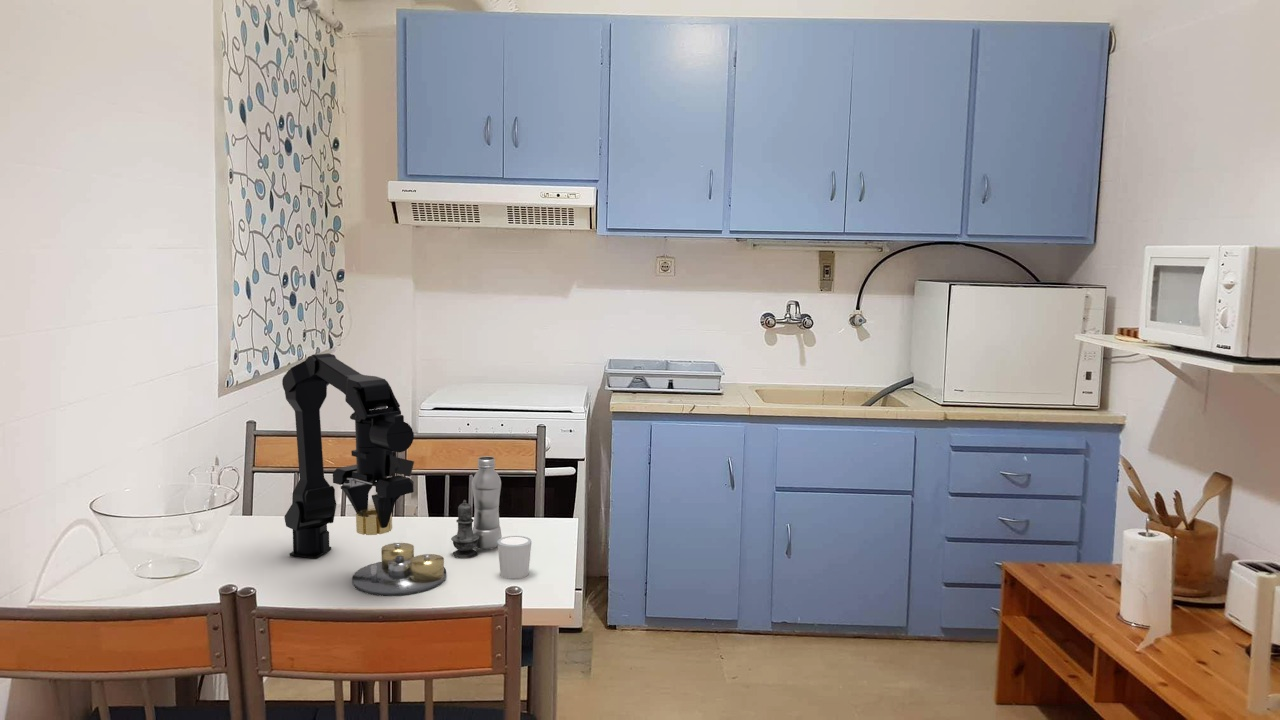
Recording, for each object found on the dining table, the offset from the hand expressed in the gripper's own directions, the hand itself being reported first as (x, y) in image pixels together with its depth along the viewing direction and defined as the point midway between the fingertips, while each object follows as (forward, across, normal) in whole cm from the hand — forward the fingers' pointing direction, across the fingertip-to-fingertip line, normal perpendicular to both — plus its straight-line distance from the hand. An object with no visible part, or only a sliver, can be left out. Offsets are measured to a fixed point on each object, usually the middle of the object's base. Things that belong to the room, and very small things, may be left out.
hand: (373, 524), depth 183 cm
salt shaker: (+12, +1, -23) cm, 26 cm away
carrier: (+12, -1, -5) cm, 13 cm away
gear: (+1, 0, 0) cm, 1 cm away
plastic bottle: (+12, +1, -29) cm, 32 cm away
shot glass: (+13, -15, -22) cm, 30 cm away
